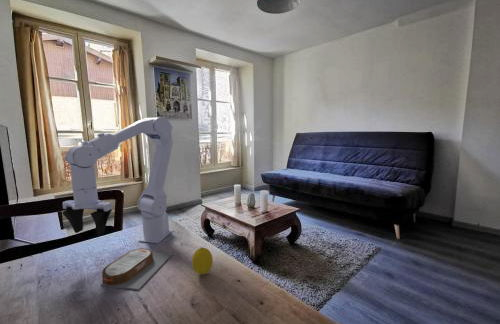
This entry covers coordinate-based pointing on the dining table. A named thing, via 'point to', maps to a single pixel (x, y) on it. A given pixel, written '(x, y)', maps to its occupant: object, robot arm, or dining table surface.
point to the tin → (127, 266)
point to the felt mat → (144, 272)
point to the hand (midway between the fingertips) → (90, 232)
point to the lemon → (202, 261)
